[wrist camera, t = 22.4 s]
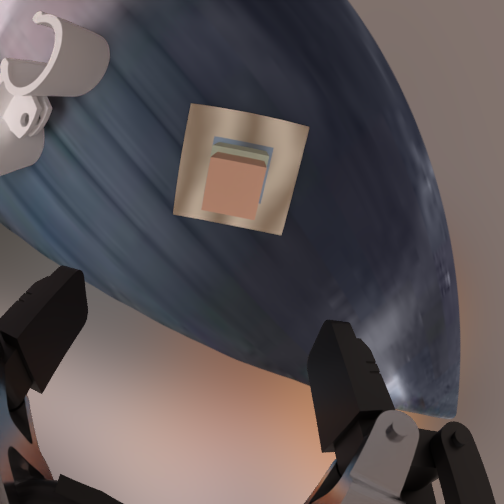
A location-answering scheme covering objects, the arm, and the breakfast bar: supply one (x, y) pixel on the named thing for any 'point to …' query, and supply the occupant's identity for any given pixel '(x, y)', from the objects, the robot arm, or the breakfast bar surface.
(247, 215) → the terracotta block
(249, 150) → the sage block
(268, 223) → the board
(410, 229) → the breakfast bar surface
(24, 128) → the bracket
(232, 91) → the breakfast bar surface
